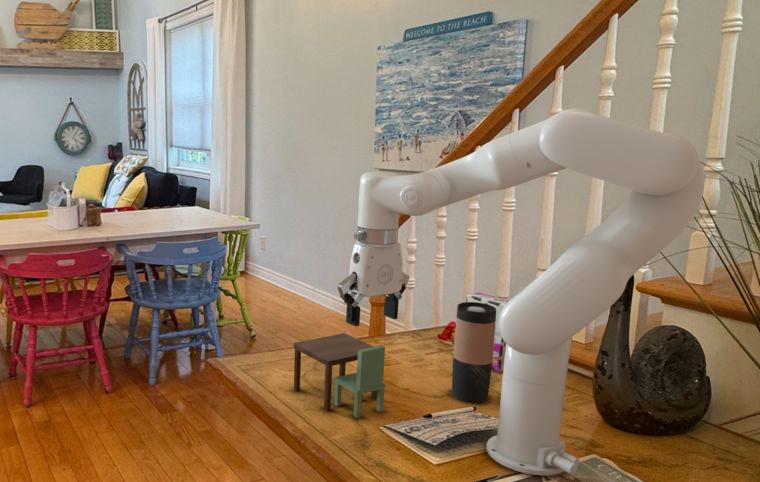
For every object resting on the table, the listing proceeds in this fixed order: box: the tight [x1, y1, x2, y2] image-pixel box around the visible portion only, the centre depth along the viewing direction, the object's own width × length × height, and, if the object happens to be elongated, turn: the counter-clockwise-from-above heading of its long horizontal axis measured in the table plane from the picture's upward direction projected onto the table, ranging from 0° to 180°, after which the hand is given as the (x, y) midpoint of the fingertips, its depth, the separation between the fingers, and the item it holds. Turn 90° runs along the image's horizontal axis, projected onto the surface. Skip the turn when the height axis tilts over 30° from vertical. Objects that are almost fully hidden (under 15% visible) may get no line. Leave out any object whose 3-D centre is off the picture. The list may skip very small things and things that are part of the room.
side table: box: [293, 332, 377, 412], centre depth 138 cm, size 12×14×11 cm
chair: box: [333, 344, 386, 419], centre depth 131 cm, size 7×7×14 cm
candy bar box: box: [465, 292, 509, 373], centre depth 153 cm, size 11×5×16 cm, turn 25°
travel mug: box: [451, 301, 496, 404], centre depth 135 cm, size 8×8×20 cm
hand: (371, 320), depth 126 cm, fingers open, 9 cm apart
